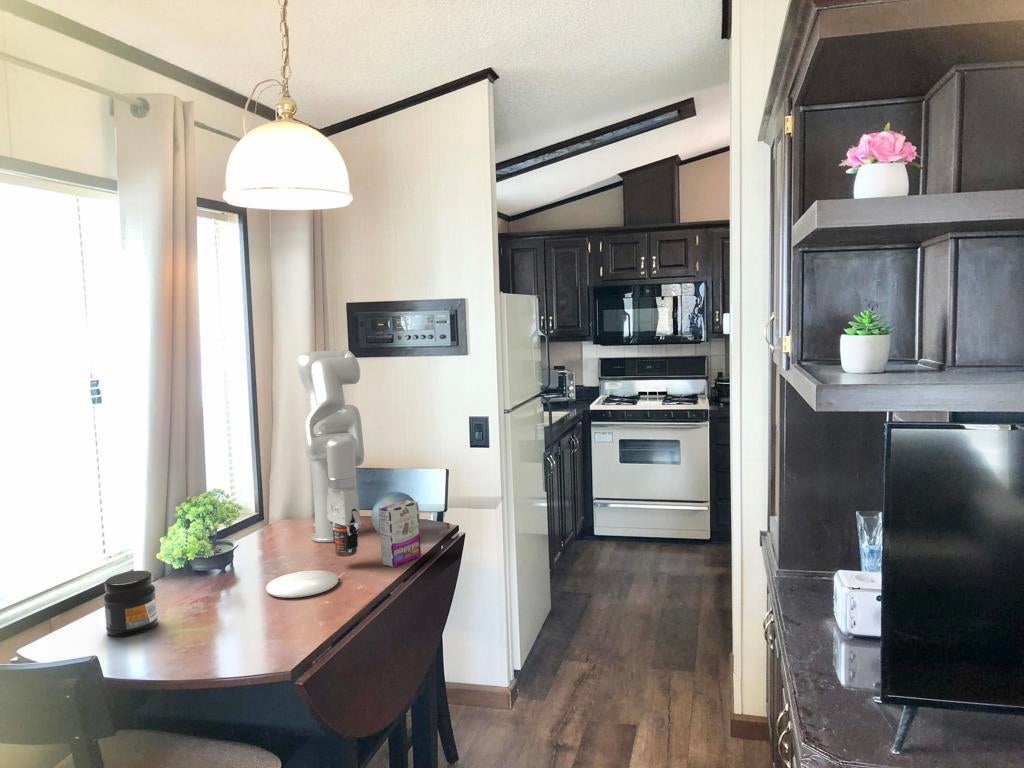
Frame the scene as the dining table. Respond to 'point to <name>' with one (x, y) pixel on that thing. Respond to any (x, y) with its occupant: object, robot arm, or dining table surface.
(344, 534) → the supplement bottle
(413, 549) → the candy bar box
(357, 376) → the robot arm
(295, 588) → the dish
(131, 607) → the supplement container
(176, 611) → the dining table surface
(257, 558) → the dining table surface
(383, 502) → the decorative ball
